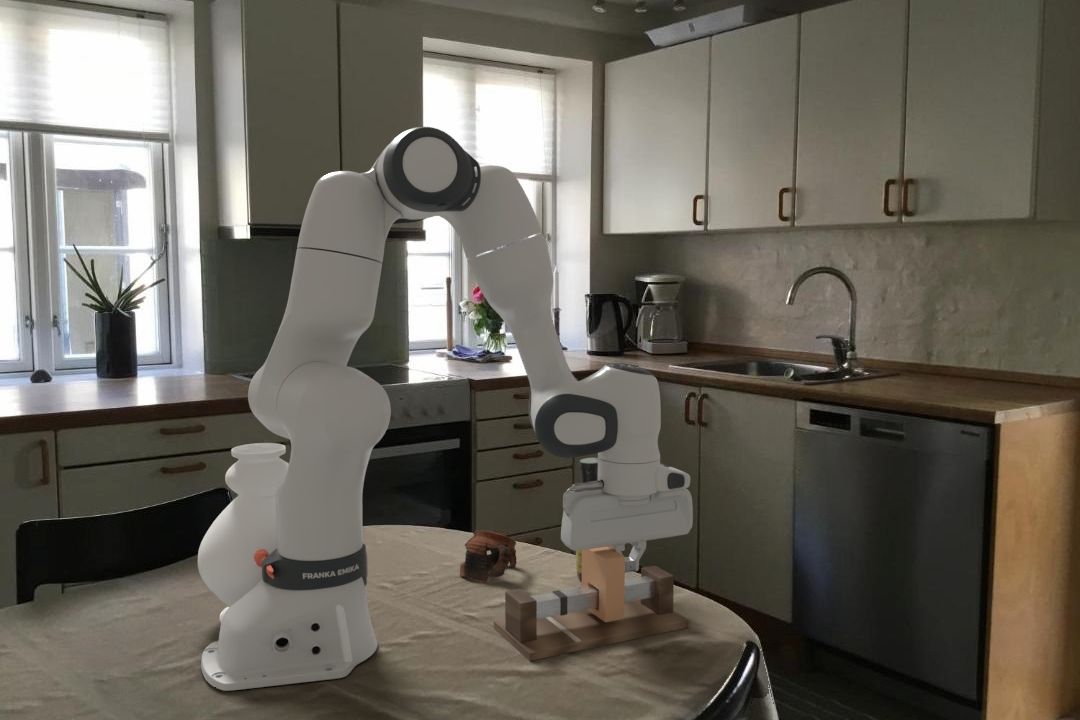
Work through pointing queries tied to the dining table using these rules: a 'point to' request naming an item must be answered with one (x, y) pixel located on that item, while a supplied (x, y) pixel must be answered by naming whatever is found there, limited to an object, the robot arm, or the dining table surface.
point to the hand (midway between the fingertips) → (627, 571)
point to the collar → (605, 581)
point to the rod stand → (588, 616)
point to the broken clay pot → (495, 562)
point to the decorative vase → (243, 523)
